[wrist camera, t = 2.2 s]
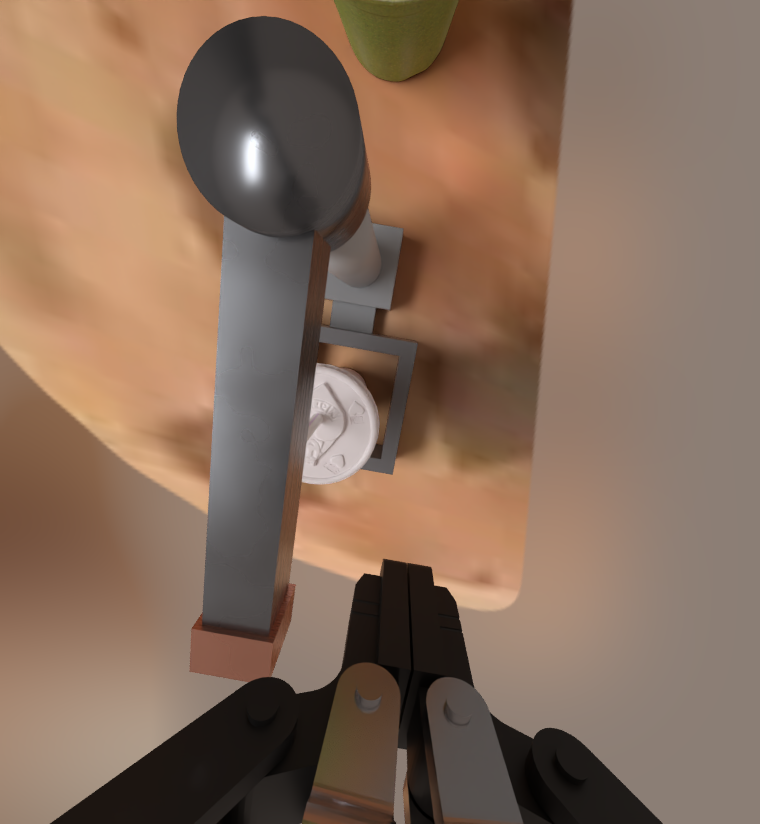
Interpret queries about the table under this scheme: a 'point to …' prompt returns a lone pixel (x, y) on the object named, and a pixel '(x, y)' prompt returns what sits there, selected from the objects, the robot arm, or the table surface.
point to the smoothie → (339, 426)
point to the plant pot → (396, 33)
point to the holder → (370, 317)
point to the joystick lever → (265, 306)
